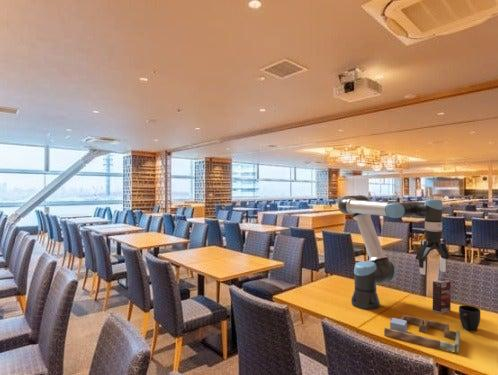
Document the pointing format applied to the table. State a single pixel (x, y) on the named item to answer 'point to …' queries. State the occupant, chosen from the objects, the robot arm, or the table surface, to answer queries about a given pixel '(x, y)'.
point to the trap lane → (423, 328)
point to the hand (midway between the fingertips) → (432, 272)
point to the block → (398, 325)
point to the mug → (469, 317)
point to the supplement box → (441, 296)
